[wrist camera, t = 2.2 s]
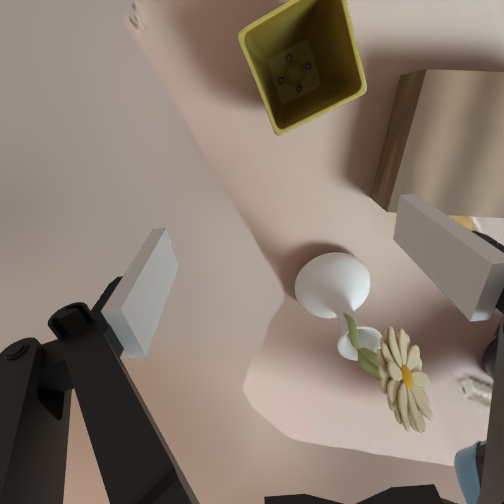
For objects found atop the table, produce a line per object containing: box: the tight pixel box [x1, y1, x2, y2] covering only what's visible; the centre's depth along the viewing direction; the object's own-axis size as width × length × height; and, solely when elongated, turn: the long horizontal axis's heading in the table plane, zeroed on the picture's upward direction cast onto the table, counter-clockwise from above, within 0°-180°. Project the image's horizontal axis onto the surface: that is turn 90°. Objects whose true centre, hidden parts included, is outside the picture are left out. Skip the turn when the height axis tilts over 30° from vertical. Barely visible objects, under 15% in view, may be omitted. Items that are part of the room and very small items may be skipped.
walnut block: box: [371, 69, 504, 218], centre depth 31 cm, size 14×14×6 cm
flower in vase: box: [294, 252, 433, 433], centre depth 31 cm, size 13×11×25 cm
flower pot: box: [238, 0, 367, 136], centre depth 27 cm, size 9×9×9 cm
